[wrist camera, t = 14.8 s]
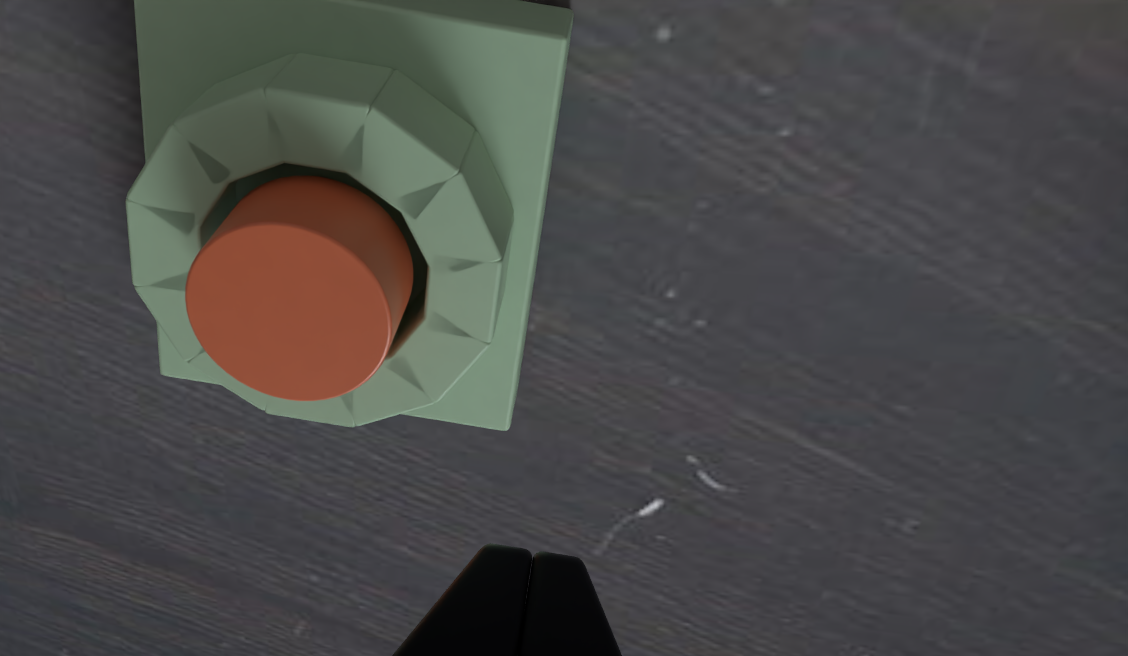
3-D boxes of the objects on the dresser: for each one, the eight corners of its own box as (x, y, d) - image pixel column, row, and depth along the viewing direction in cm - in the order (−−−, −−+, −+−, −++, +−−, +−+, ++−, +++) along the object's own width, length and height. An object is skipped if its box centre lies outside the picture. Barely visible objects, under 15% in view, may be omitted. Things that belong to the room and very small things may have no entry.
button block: (190, 331, 22) (119, 431, 19) (170, -60, 18) (75, -9, 15) (518, 384, 22) (497, 493, 19) (574, 8, 18) (559, 73, 15)
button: (226, 328, 18) (187, 385, 17) (220, 158, 17) (178, 205, 15) (408, 357, 18) (385, 417, 17) (421, 192, 17) (397, 242, 15)
